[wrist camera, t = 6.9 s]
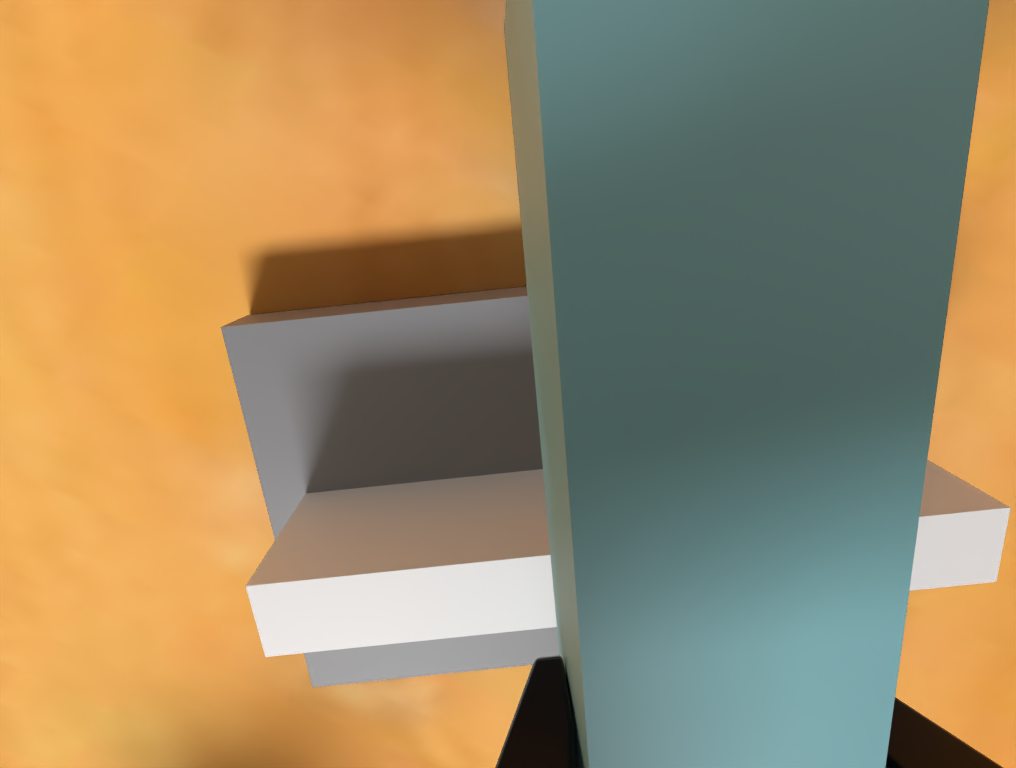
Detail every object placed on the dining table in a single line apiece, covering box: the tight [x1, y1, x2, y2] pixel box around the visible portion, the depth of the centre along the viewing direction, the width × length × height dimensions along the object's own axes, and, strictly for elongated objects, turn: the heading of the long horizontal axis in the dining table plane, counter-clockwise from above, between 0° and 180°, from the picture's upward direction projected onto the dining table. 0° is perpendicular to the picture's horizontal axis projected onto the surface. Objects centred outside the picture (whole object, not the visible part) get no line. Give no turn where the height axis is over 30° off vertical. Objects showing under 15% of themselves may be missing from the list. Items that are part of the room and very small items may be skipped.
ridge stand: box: [221, 286, 1010, 687], centre depth 13 cm, size 16×10×5 cm, turn 96°
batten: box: [504, 0, 989, 768], centre depth 8 cm, size 18×3×4 cm, turn 6°
